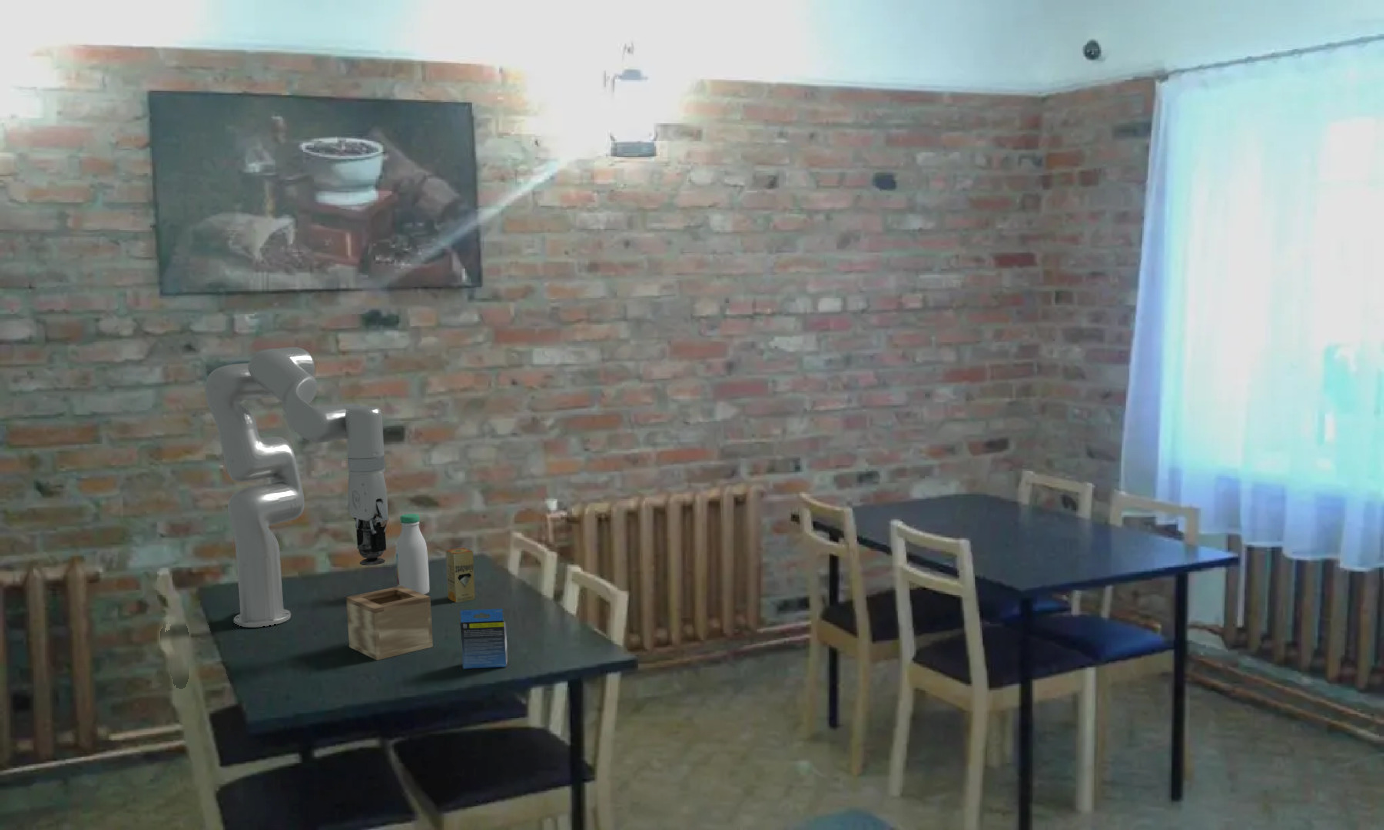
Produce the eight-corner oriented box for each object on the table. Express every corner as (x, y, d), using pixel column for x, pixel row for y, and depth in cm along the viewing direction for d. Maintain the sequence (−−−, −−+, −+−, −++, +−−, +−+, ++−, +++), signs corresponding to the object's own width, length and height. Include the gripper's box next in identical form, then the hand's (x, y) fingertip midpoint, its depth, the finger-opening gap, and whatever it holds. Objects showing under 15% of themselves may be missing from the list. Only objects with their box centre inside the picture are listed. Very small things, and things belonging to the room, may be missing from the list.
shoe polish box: (475, 599, 304) (472, 551, 303) (456, 602, 301) (453, 554, 300) (466, 595, 308) (464, 547, 307) (448, 598, 306) (445, 550, 304)
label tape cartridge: (508, 661, 255) (505, 603, 254) (506, 667, 251) (503, 608, 250) (464, 663, 255) (462, 604, 253) (462, 669, 251) (459, 609, 249)
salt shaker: (378, 566, 261) (375, 509, 259) (353, 565, 262) (349, 509, 261) (391, 559, 266) (388, 504, 265) (366, 558, 268) (362, 504, 266)
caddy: (349, 646, 268) (346, 597, 266) (403, 634, 276) (401, 585, 275) (376, 660, 258) (374, 608, 257) (432, 646, 266) (430, 596, 265)
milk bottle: (436, 591, 312) (432, 513, 310) (413, 599, 305) (409, 519, 303) (413, 588, 316) (409, 511, 314) (391, 595, 310) (387, 516, 307)
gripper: (332, 463, 266) (338, 545, 268) (367, 471, 253) (373, 558, 255) (365, 458, 271) (370, 540, 273) (401, 466, 258) (406, 552, 260)
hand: (371, 548), depth 264 cm, fingers closed on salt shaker, 5 cm apart
